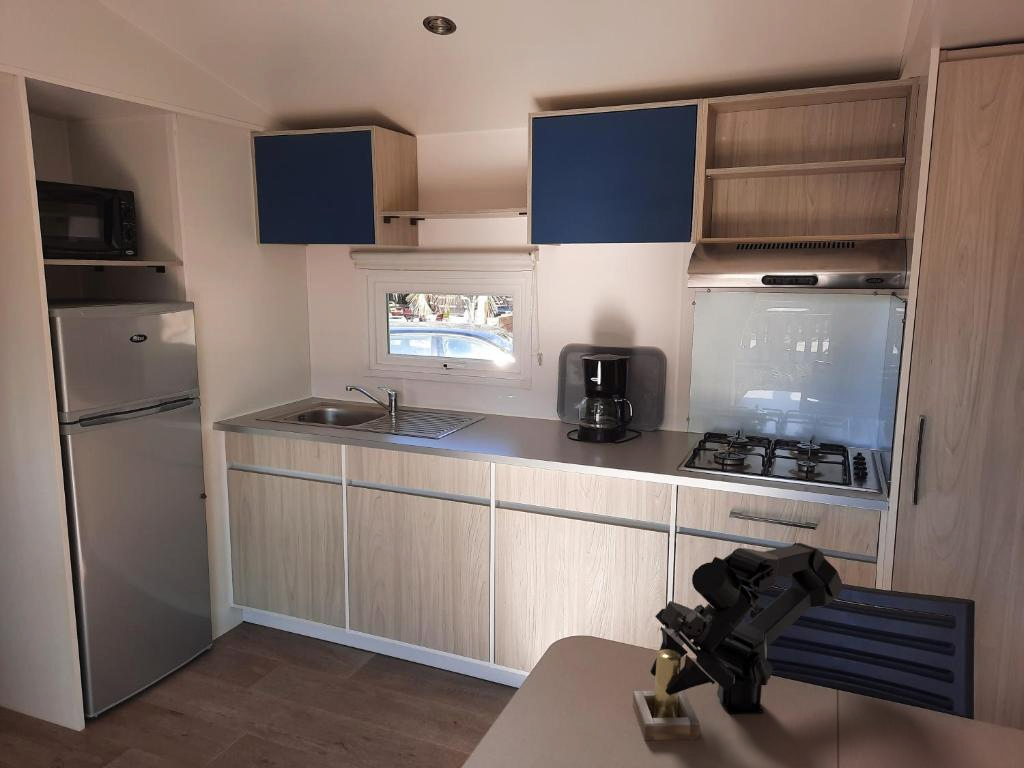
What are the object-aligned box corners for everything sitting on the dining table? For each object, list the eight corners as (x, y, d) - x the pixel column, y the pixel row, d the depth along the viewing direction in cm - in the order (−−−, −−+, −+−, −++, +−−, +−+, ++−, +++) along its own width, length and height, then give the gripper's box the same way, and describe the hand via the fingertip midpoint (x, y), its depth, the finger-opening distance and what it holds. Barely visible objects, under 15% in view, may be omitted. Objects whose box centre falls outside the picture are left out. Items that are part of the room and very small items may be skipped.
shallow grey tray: (683, 705, 130) (684, 689, 130) (699, 739, 121) (700, 722, 121) (632, 706, 130) (633, 690, 129) (644, 740, 121) (645, 724, 120)
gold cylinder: (673, 714, 128) (677, 649, 125) (679, 729, 124) (683, 662, 121) (651, 714, 127) (654, 649, 125) (656, 729, 124) (660, 662, 121)
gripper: (667, 565, 131) (608, 629, 130) (722, 615, 113) (654, 689, 112) (704, 600, 134) (647, 663, 134) (763, 654, 117) (697, 727, 116)
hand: (659, 683), depth 124 cm, fingers open, 5 cm apart
